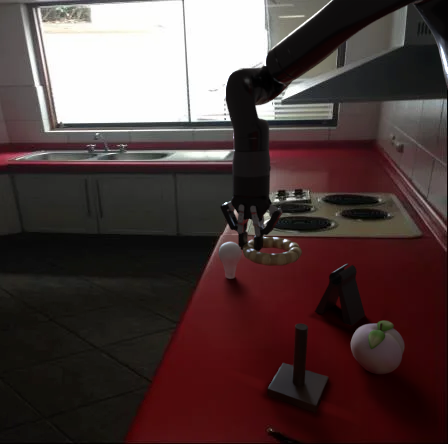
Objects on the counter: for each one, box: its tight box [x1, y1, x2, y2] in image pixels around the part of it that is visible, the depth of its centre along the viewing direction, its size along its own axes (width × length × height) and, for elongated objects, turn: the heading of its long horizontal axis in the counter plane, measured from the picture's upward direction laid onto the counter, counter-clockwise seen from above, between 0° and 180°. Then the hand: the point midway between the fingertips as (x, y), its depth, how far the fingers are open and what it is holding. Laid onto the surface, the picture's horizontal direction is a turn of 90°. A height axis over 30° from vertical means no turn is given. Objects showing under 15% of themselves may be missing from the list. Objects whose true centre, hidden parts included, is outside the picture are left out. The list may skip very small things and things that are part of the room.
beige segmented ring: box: [242, 236, 303, 267], centre depth 88 cm, size 12×12×2 cm
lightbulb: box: [218, 241, 243, 280], centre depth 111 cm, size 6×6×11 cm
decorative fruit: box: [350, 320, 405, 375], centre depth 74 cm, size 9×8×10 cm
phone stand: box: [314, 263, 366, 327], centre depth 90 cm, size 9×6×12 cm, turn 40°
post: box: [267, 322, 329, 414], centre depth 70 cm, size 8×8×12 cm
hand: (250, 249), depth 91 cm, fingers closed on beige segmented ring, 2 cm apart
